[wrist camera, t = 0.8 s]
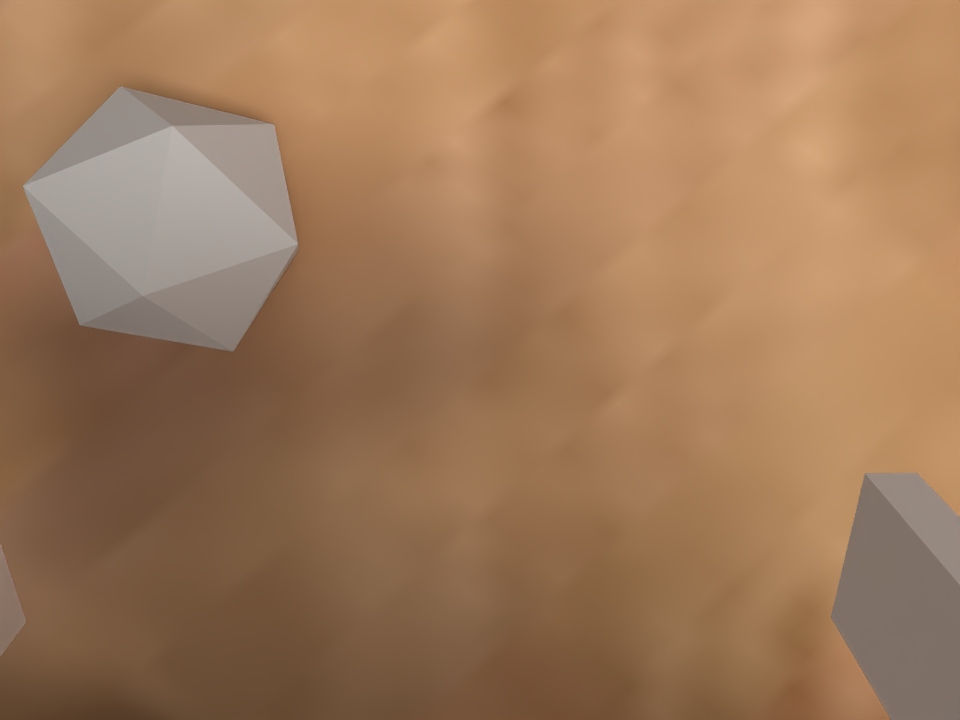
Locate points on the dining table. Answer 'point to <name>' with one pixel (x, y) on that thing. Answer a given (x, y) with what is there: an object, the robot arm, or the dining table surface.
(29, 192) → the die
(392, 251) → the dining table surface
